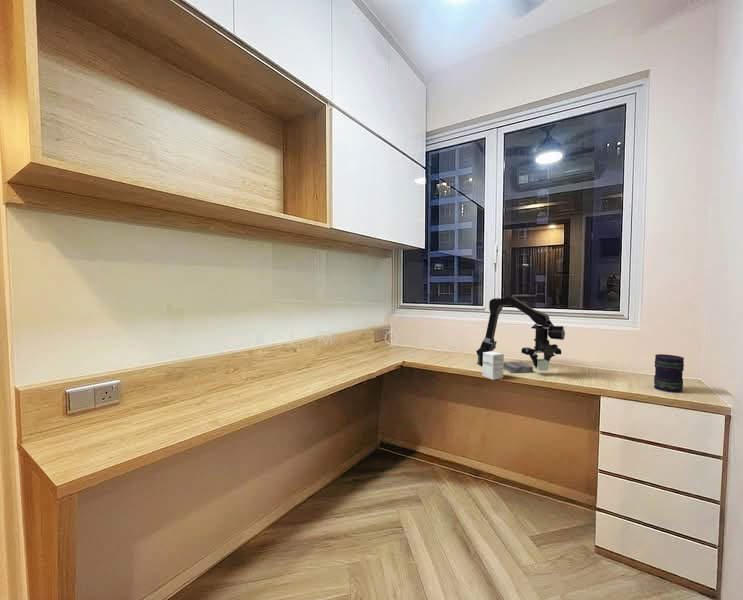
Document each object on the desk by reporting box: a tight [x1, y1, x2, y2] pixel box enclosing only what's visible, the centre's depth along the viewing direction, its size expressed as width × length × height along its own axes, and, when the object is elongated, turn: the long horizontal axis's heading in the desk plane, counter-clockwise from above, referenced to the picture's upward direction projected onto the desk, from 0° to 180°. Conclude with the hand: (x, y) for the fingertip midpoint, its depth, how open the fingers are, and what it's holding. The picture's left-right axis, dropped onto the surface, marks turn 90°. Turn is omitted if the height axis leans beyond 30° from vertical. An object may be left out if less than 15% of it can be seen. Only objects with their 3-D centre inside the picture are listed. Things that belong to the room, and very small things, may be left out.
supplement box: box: [482, 350, 505, 381], centre depth 172 cm, size 7×7×13 cm
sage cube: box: [533, 358, 549, 372], centre depth 177 cm, size 5×5×5 cm
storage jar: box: [653, 353, 685, 394], centre depth 152 cm, size 10×10×15 cm
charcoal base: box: [503, 361, 534, 374], centre depth 187 cm, size 12×12×3 cm
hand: (540, 367), depth 177 cm, fingers closed on sage cube, 5 cm apart
